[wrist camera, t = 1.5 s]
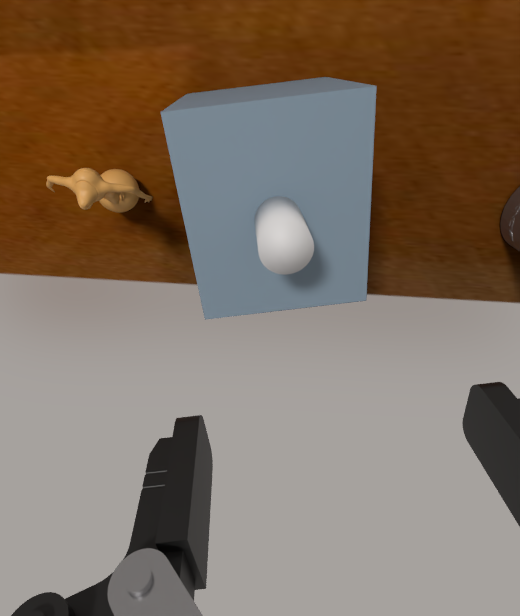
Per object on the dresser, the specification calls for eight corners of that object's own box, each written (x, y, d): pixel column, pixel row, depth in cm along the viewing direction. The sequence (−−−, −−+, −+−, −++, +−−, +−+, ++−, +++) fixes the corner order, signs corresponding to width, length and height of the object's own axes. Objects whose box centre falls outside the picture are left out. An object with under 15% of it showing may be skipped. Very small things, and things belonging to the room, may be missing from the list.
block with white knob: (325, 76, 36) (408, 91, 19) (327, 230, 43) (387, 338, 26) (186, 93, 36) (143, 123, 19) (213, 243, 43) (200, 360, 27)
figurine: (81, 200, 40) (29, 246, 30) (75, 136, 37) (15, 165, 27) (164, 209, 41) (141, 258, 31) (165, 149, 38) (140, 181, 28)
